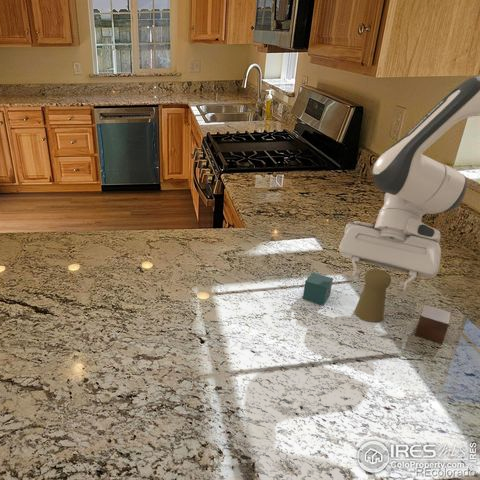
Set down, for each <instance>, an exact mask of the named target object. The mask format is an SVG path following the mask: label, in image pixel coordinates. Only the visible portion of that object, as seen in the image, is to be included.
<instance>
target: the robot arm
mask: <svg viewBox="0 0 480 480" xmlns="http://www.w3.org/2000/svg"><path fill="white" fill-rule="evenodd" d="M472 117H480V76H471V77H468V78H467V79H465V80H464V81H463V82H461V83H460V84H458V85H457V86H456V87H455V88H453V89H452V90H451V91H450V92H449V93H448V94H447V95H446V96H444V98H442V99H441V100H440V101H439V102H438V103H437V104H436V105H435V106H434V107H433V108H432V109H431V110H429V111H428V112H427V113H426V115H425V116H423V117H422V118H421V119H420V120H419V121H418V122H417V123H416V124H415V125H414V126H412V128H411V129H410V130H409V131H408V132H407V133H406V134H404V135H403V136H402V137H401V138H400V139H399V140H397V141H396V142H395V143H393V144H392V145H391V146H389V147H388V148H387V149H386V150H385V151H383V153H381V155H379V156H378V158H377V159H376V161H375V162H374V164H373V165H372V169H371V175H372V176H371V177H372V180H373V183H374V185H375V187H376V189H377V190H379V191H381V192H384V197H383V205H382V207H381V208H380V210H379V212H378V214H377V218H376V221H375V223H369V222H364V221H360V220H354V221H350V222H348V223H346V225H345V227H344V230H343V237H342V238H341V241H340V243H339V246H338V253H339V255H340V256H341V257H343V258H345V259H346V258H347V259H350V260H351V265H352V269H353V271H352V274H351V277H352V279H356V280H360V278H361V275H362V270H360V269H358V267H357V266H358V265H360V262H362V263H366V264H369V265H374V266H376V267H377V266H378V267H381V268H385V269H389V270H393V271H398V272H401V273H405V274H408V277H407V279H406V280H405V281H402V280H400V281H399V284H398V287H397V291H398V292H399V291H400V292H403V293H406V291H407V288H408V286H409V285H411V284H412V283H413V282H414V281H416V279H417V277H421V278H424V279H427V280H432V279H434V278H436V277H437V276H438V272H439V268H440V265H441V264H440V263H441V257H442V248H441V245H440V241H441V237H442V236H441V232H440V230H438V229H436V228H434V227H432V226H430V225H428V224H425V223H424V222H422V221H423V216H424V215H437V214H441V213H442V214H443V213H446V212H449V211H452V210H454V209H456V208H457V207H459V206H460V204H461V203H462V202H463V200H464V198H465V196H466V194H467V193H466V192H467V188H468V182H467V181H468V180H467V178H466V175H465V174H464V173H461V172H460V171H458V170H457V169H456V168H455V169H454V168H452V167H451V166H449V165H446V164H445V163H443V162H442V163H441V162H439V161H437V160H435V159H433V158H430V157H429V156H426V155H424V154H423V153H424V152H425V151H426V150H427V149H429V148H430V146H432V145H433V144H434V143H436V141H437V140H439V139H440V138H441V137H442V136H443V135H444V134H445V133H446V132H447V131H448V130H450V129H451V128H452V127H453V126H454V125H455V124H457V123H459V122H461V121H462V120H465V119H468V118H472Z"/></svg>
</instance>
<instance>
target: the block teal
mask: <svg viewBox="0 0 480 480" xmlns="http://www.w3.org/2000/svg"><path fill="white" fill-rule="evenodd" d="M333 282H334V278H333V277H330V276H326V275H323V274H320V273H316V272H311V273H310V275H309V276H308V277H307V278H306V279H305V281H304V288H303V294H302V300H305V301H309V302H312V303H315V304H317V305H320V306H325V304H326V303H327V301H328V299H329V298H330V297H331V291H332V287H333Z"/></svg>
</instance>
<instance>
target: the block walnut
mask: <svg viewBox="0 0 480 480" xmlns="http://www.w3.org/2000/svg"><path fill="white" fill-rule="evenodd" d="M451 317H452V312H451V311H448V310H443V309H440V308H437V307H434V306H432V305H431V306H430V305H428V304H423V306H422V308H421V312H420V315H419V318H418V322H417V326H416V328H415V332H414V336H415V337H418V338H423V339H426V340H429V341H432V342H435V343H437V344H441V345H443V343H444V340H445V338H446V334H447V331H448V328H449V325H450V322H451Z"/></svg>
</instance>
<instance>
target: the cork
mask: <svg viewBox="0 0 480 480" xmlns="http://www.w3.org/2000/svg"><path fill="white" fill-rule="evenodd" d="M363 277H364V278H363V280H364V283H365V284H364V286H363V289H362V292H361V293H360V297H359V299H358V302H357V303H356V306H355V309H354V314H355V316H356V317H357V318H359V319H361V320H362V321H364V322H365V321H366V322H369V323H380V322H382V321H383V320H384V318H385V306H386V295H387V289H388V288H389V287H390V285H391V282H392V277H391V275H390V274H389V273H388V272H387V271H386V270H383V269H379V268H372V269H368V270H367V271H366V272H365V274H364V276H363Z"/></svg>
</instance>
